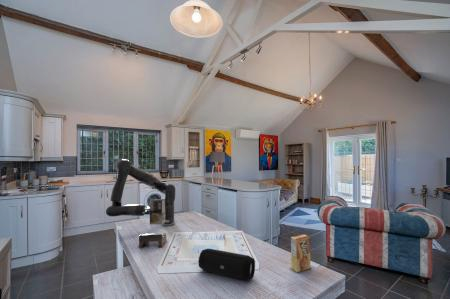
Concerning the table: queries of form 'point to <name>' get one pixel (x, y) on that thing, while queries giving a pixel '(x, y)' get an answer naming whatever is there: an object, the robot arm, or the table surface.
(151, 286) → the table surface
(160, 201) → the coffee box
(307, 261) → the candy box
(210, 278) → the table surface
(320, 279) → the table surface
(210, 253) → the portable speaker
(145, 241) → the bench
